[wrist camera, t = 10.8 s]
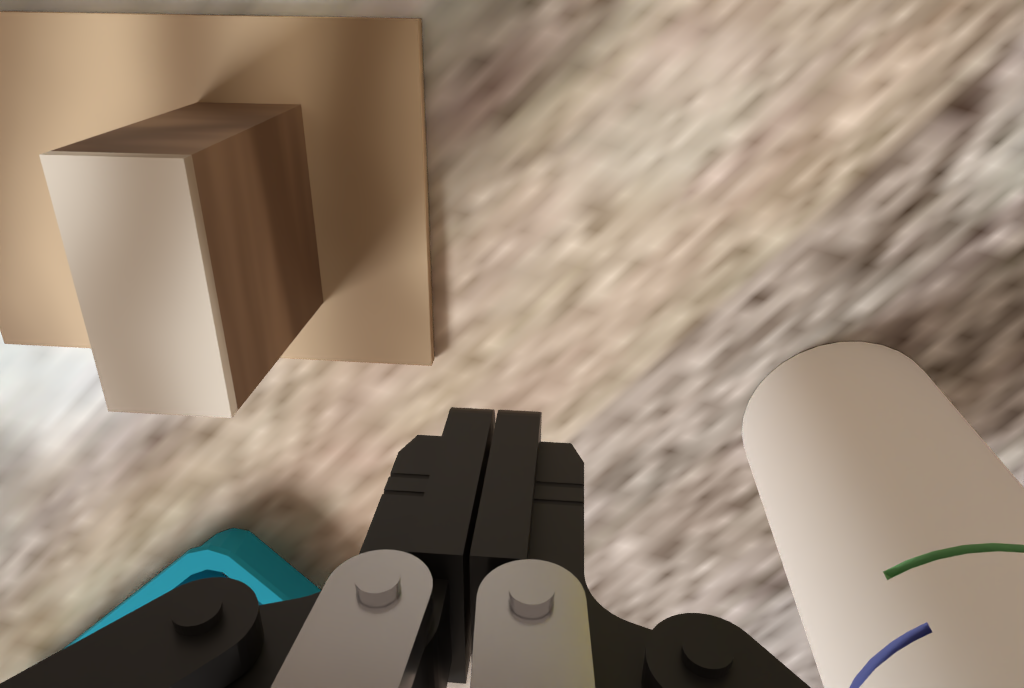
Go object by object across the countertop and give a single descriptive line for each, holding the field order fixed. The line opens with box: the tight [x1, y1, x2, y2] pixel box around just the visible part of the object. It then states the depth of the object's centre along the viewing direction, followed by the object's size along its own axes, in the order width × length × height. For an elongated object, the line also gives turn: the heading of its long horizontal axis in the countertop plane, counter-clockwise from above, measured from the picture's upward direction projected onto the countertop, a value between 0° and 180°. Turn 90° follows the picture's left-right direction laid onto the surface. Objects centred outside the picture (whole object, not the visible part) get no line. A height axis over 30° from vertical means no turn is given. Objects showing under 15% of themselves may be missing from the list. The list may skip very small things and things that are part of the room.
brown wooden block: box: [39, 102, 324, 418], centre depth 23 cm, size 4×7×8 cm, turn 0°
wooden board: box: [0, 11, 434, 366], centre depth 26 cm, size 17×12×1 cm
